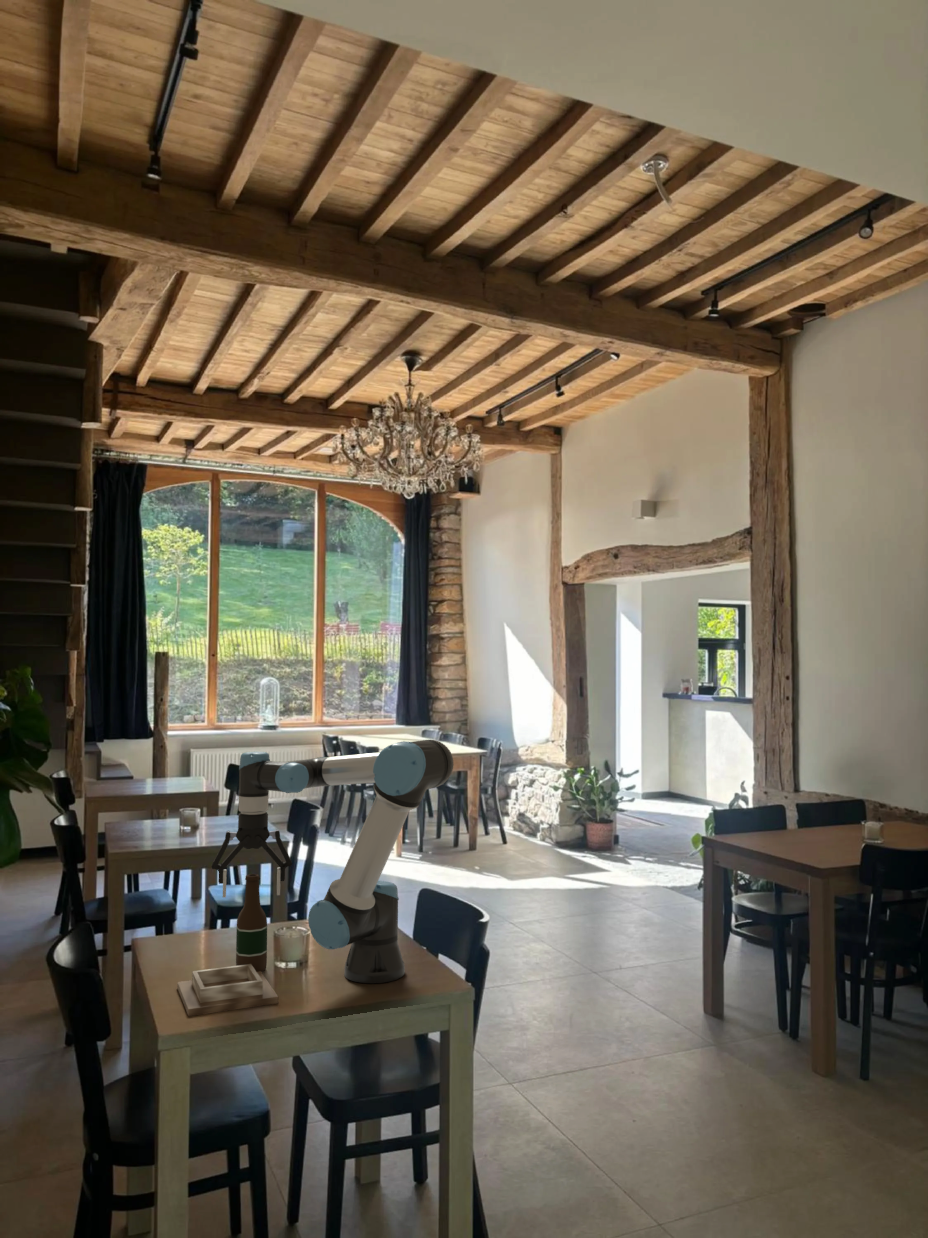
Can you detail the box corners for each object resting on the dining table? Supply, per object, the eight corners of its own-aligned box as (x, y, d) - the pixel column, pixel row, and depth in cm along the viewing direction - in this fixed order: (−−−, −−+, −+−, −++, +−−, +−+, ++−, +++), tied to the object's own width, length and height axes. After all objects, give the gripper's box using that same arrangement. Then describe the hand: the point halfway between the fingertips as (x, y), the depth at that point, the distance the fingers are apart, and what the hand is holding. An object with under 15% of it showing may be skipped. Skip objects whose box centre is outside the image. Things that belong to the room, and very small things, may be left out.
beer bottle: (264, 974, 232) (265, 878, 234) (233, 975, 231) (234, 878, 233) (268, 965, 240) (269, 871, 241) (238, 965, 239) (239, 872, 241)
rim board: (260, 977, 230) (260, 959, 230) (278, 1003, 211) (278, 983, 212) (177, 988, 222) (177, 969, 222) (188, 1016, 203) (188, 995, 204)
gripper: (301, 808, 245) (299, 889, 243) (204, 811, 239) (202, 893, 238) (302, 813, 237) (301, 896, 236) (202, 815, 232) (200, 901, 231)
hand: (251, 895), depth 237 cm, fingers open, 13 cm apart
